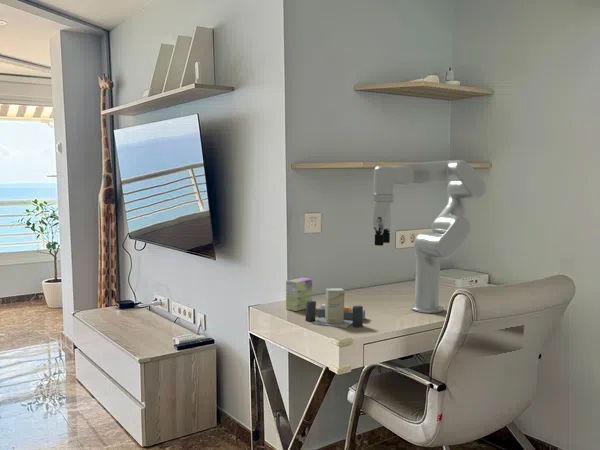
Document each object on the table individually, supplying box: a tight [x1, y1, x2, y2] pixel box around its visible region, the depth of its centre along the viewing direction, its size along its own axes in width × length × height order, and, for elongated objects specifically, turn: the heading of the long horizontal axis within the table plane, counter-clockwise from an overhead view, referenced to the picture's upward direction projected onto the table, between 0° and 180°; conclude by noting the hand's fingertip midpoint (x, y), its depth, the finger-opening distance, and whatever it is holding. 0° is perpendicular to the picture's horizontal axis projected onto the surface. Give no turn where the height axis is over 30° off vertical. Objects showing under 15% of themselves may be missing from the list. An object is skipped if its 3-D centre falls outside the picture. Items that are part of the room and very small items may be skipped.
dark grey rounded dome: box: [305, 300, 317, 322], centre depth 207 cm, size 4×4×7 cm
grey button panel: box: [312, 303, 366, 329], centre depth 207 cm, size 16×17×4 cm
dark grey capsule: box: [352, 305, 364, 328], centre depth 200 cm, size 4×4×7 cm
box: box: [285, 277, 313, 312], centre depth 226 cm, size 10×6×12 cm, turn 141°
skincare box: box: [324, 287, 345, 323], centre depth 203 cm, size 6×4×12 cm
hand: (382, 244), depth 211 cm, fingers open, 9 cm apart
